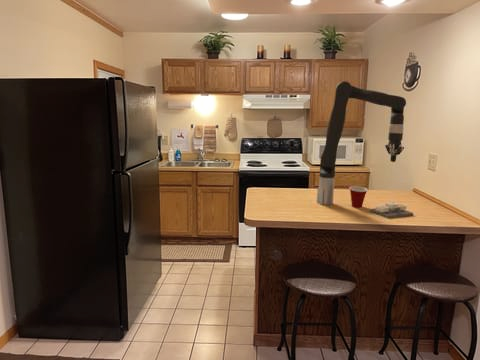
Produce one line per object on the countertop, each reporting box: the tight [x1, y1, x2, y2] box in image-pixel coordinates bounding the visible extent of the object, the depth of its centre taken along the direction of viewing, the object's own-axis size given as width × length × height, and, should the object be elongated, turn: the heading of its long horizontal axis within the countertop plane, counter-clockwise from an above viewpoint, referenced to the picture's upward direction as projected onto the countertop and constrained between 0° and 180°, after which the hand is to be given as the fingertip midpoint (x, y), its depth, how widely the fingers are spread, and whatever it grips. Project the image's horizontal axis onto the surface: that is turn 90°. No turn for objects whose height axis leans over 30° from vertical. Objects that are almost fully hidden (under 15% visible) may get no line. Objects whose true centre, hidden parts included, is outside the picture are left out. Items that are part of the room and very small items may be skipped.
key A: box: [375, 205, 389, 213], centre depth 193 cm, size 5×5×4 cm
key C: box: [397, 203, 407, 211], centre depth 197 cm, size 5×5×4 cm
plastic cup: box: [348, 185, 368, 209], centre depth 207 cm, size 11×11×12 cm
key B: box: [385, 201, 399, 211], centre depth 194 cm, size 5×5×4 cm
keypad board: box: [369, 207, 414, 219], centre depth 195 cm, size 18×14×4 cm
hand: (393, 161), depth 200 cm, fingers closed
